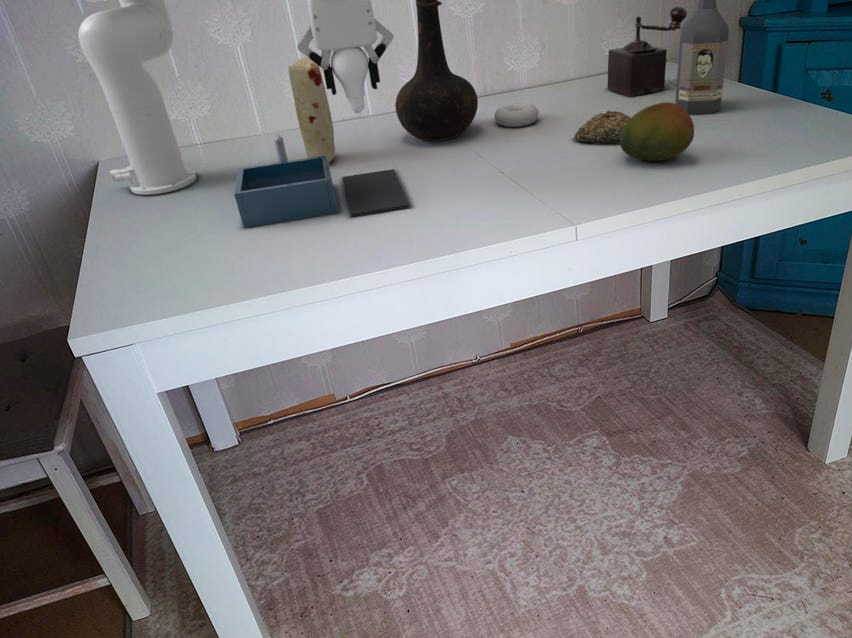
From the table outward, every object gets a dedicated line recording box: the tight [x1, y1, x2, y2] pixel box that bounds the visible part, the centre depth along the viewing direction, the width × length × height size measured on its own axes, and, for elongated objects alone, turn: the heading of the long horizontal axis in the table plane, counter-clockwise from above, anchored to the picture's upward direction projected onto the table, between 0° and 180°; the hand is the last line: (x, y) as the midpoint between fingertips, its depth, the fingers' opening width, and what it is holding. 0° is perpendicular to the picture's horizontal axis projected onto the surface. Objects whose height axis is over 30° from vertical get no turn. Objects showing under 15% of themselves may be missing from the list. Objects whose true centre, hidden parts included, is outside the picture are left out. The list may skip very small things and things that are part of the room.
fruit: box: [619, 101, 695, 162], centre depth 127 cm, size 12×13×10 cm
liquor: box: [674, 0, 730, 115], centre depth 147 cm, size 9×9×30 cm
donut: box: [494, 102, 539, 128], centre depth 157 cm, size 10×3×10 cm
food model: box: [288, 55, 336, 163], centre depth 140 cm, size 10×7×20 cm
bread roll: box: [574, 110, 632, 144], centre depth 143 cm, size 13×12×5 cm
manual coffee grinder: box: [606, 6, 688, 98], centre depth 169 cm, size 16×11×18 cm
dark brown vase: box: [394, 0, 479, 141], centre depth 146 cm, size 18×18×28 cm
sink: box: [233, 133, 339, 229], centre depth 123 cm, size 16×16×11 cm
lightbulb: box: [330, 47, 369, 114], centre depth 116 cm, size 6×6×11 cm
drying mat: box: [341, 168, 410, 218], centre depth 127 cm, size 10×20×1 cm, turn 14°
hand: (354, 89), depth 117 cm, fingers closed on lightbulb, 6 cm apart
